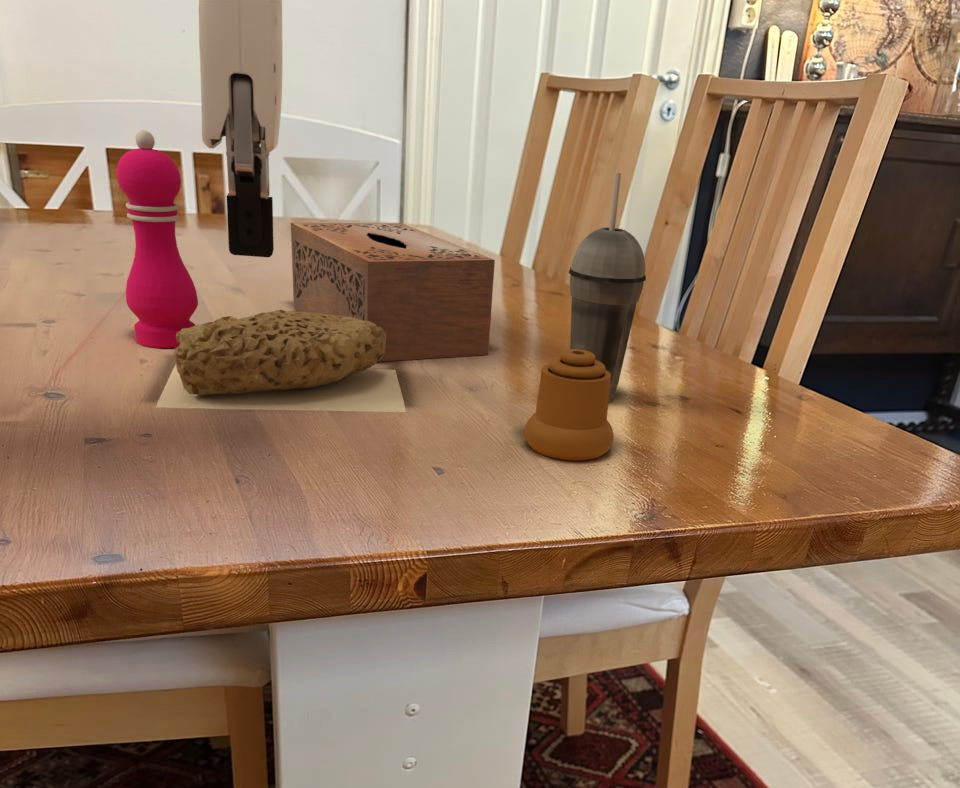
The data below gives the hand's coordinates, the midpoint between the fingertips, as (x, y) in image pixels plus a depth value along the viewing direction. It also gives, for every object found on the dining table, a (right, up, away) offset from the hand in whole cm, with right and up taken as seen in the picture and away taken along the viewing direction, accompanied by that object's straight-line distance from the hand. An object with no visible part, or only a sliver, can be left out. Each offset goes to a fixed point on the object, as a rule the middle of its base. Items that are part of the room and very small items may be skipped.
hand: (251, 253), depth 70 cm
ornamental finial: (+25, -13, +9) cm, 29 cm away
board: (-1, -5, +18) cm, 19 cm away
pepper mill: (-17, +3, +30) cm, 34 cm away
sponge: (-1, -5, +19) cm, 20 cm away
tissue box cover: (+6, +7, +40) cm, 42 cm away
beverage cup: (+28, -5, +23) cm, 37 cm away
